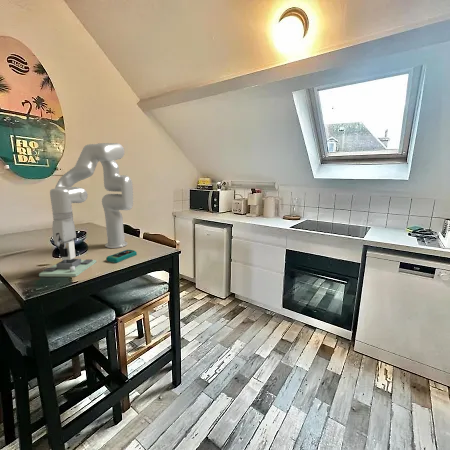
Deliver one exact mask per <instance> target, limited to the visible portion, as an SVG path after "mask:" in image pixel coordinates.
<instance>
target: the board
mask: <svg viewBox="0 0 450 450" xmlns="http://www.w3.org/2000/svg"><path fill="white" fill-rule="evenodd" d="M96 263H97V259H93V258H92V259H89V258H88V259H82V258H73V259H71V260H60V261H59V262H57V263H56V264H54V265H52V266H50V267H47V268H45V269H43V271H41V272H39V273H38V277H54V278H55V277H57V278H58V277H66V278H67V277H69V278H70V277H71V278H72V277H78V276H79V275H80V274H82V273H83V272H85V271H86V270H88V268H90V267H92V266H93V265H95V264H96Z"/></svg>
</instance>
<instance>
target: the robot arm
mask: <svg viewBox="0 0 450 450" xmlns="http://www.w3.org/2000/svg"><path fill="white" fill-rule="evenodd" d="M125 153H126V152H125V148H124V146H123V145H122V144H121V143H118V142H115V143H114V142H113V143H112V142H102V143H100V142H99V143H98V142H97V143H94V144H93V143H89V144H86V145H85V146H83V147H82V150H81V152H80V154H79V157H78V159H77V160H76V163H75V165H74V166H73V167H72V168H70V169H69V170H68V171H67V172H65V173H64V174H63V175H62V176H61V177H60V178H59V179H58V181H57V182H56V185H55V187H54V188H51V189H50V190H49V195H50V203H51V204H50V205H51V211H52V219H53V220H52V225H51V227H52V230H51V231H52V240H53V242H54V245H55V246H56V247H58V248H57V249H59V257H60V258H62V257H68V251H67V248H66V242H67V241H74V245H75V244H76V243H75V241H76V238H77V234H76V226H75V221H74V216H73V215H74V214H73V208H72V207H73V206H72V204H82V203H85V202H86V200H87V199H88V195H89V194H88V191H87V190H86V189H84V188H83V187H79V186H75V184H76V183H78V182H80V181H81V182H82V181H83V180H86V179H88V178H91V177H92V176H93V175H94V173H95V171H96V168H97V165H98V163H99V162H100V163H101V167H102V171H103V187H104V189H105V190H106V191H108V192H120V193H107V194H105V195H103V197H102V199H101V205H102V208H103V211H104V216H105V217H104V218H105V227H106V228H105V229H106V237H107V238H106V239H107V240H106V241H107V242H106V243H105V244H104V246H105V248H108V249H119V248H122V247H123V248H124V247H126V246H127V245H128V242H127V241H125V239H126V236H125V232H124V217H123V215H122V213H121V211H130V210H131V209H132V208H133V206H134V188H133V187H134V186H133V185H134V184H133V181H132V178H131V177H130V176H129V175H127V174H126V175H125V174H122V175H121V174H120V167H119V166H120V165H119V164H118V162H117V160H121V159H123V157H124V156H125ZM61 243H63V245H62V244H61Z"/></svg>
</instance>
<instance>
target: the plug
mask: <svg viewBox="0 0 450 450" xmlns="http://www.w3.org/2000/svg"><path fill="white" fill-rule="evenodd" d="M74 242H75V241H70V240H69V241H67V242H66V248H67V251H68V257H61V261H63V260H71V259H76V249H75V244H74ZM61 244H62V245H63V243H61Z"/></svg>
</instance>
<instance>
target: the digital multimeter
mask: <svg viewBox="0 0 450 450" xmlns="http://www.w3.org/2000/svg"><path fill="white" fill-rule="evenodd" d="M137 255H138V253H137V251H136V250H133V249H124V250H123V251H120V252H116V253H114V254H110V255H108V256H107V257H105V258H106V262H108V263H109V262H110V263H113V264H119V263H121V262H123V261H125V260H127V259H130V258H133V257H135V256H137Z"/></svg>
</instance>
